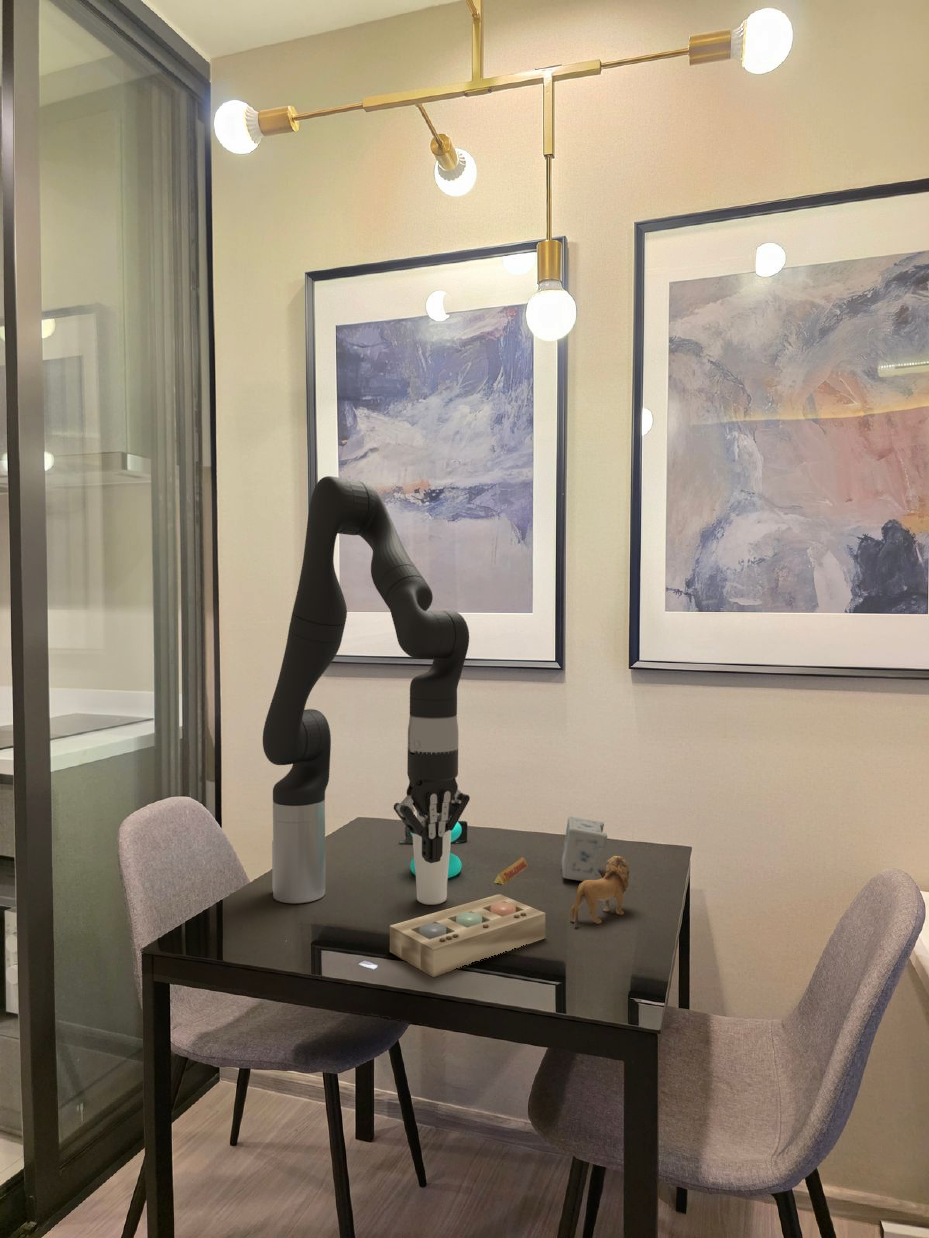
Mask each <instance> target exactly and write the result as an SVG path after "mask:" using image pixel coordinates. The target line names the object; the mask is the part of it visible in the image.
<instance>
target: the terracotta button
mask: <svg viewBox="0 0 929 1238" xmlns="http://www.w3.org/2000/svg"><path fill="white" fill-rule="evenodd" d="M491 912H492V913H494V914H497V915H499V916H501V917H503V916H506V915H509V914H512V913H516V906H515V905H513V904H511V903H506V902H500V903H494V904H492V905H491Z"/></svg>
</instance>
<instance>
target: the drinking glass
mask: <svg viewBox="0 0 929 1238" xmlns="http://www.w3.org/2000/svg"><path fill="white" fill-rule="evenodd" d="M414 815H415V816H416V817H417V813H416V814H414ZM451 844H452V843H451V831H450V830H448V831H447V832H445V834H444V836H443V849H442V850H443V854H442V857H440V861H439V862H435V863H429V862H427V861H425V860H424V858H423V857H422V837H421V836H419V835H417V834H413V844H412V846H413V847H412V848H413V858H414V862H415V874H416V875H415V883H416V884H415V885H416V887H415V888H416V900H417V901H418V902H419V903H420V904H423V905H429V906H430V905H431V906H435V905H441V904H443V903H444V902H445V901H446V900H447V899H448V880H449V878H448V867H449V856H450V853H451Z"/></svg>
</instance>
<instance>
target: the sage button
mask: <svg viewBox="0 0 929 1238" xmlns="http://www.w3.org/2000/svg"><path fill="white" fill-rule="evenodd" d="M456 923H458V924H460V925H462V926H464V927H466V928H468V927H471V926H474V925H477V924H480V923H482V916H481V915H480V914H477V913H472V912H467V913H461V914H458V915H457V916H456Z"/></svg>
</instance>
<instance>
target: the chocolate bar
mask: <svg viewBox="0 0 929 1238" xmlns="http://www.w3.org/2000/svg"><path fill="white" fill-rule="evenodd" d="M528 866H529V865H528V864H527V862H526V859H525V858H524V856H522V857H520V858H519V859H518V860H517V861H515V862H514V863H513V864H511V865H509V866H508V867H507V868H505V869H503V870H502V872H500V873H498V875H497V876H496V878H495V880H494V882H493V883H494V884H497V883H499V884H498V885H505V884H507V883H508V882H510V881H511V880H512V879H513V878H515V877H516V876H517V875H518V874H521V872H523V871H524V870H525V869H527V868H528ZM514 876H515V877H514ZM510 879H511V880H510ZM504 883H505V884H504Z"/></svg>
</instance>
